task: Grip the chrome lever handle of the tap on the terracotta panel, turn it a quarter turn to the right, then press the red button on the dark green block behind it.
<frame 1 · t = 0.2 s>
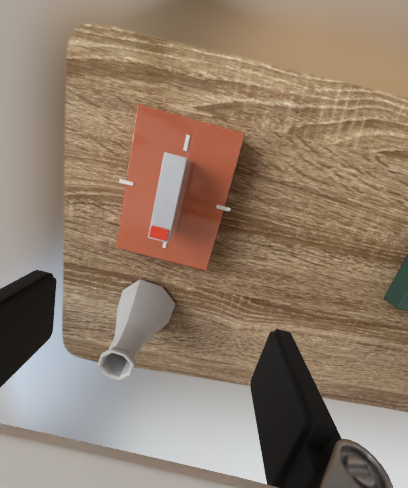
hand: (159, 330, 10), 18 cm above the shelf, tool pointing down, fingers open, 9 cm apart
tap handle: (171, 197, 21), point 5 cm above the shelf, hinge at 0.0°
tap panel: (179, 192, 26), on the shelf
flask: (147, 304, 30), on the shelf
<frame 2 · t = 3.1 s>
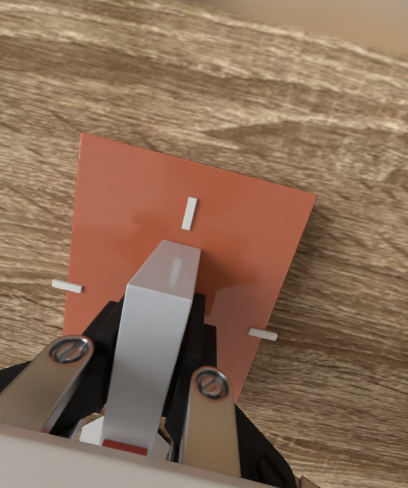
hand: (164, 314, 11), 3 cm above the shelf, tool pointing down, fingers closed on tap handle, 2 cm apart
tap handle: (154, 343, 9), point 5 cm above the shelf, hinge at 0.0°, touching gripper
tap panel: (176, 282, 14), on the shelf
flask: (125, 441, 19), on the shelf
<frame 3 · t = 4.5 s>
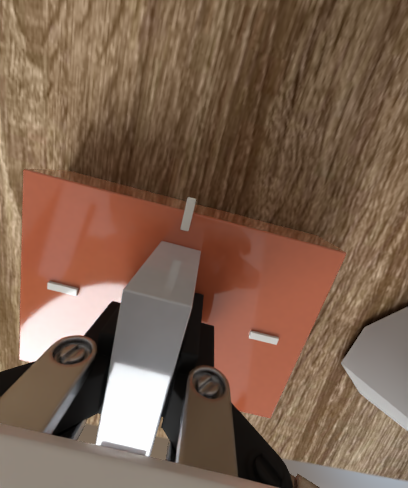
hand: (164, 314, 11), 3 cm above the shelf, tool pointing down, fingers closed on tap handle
tap handle: (152, 348, 9), point 5 cm above the shelf, hinge at -90.3°, touching gripper
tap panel: (175, 284, 14), on the shelf
flask: (398, 352, 15), on the shelf
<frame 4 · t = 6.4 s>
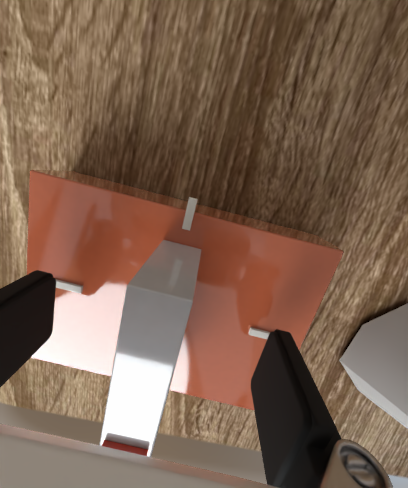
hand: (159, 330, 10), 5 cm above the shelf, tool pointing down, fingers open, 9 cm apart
tap handle: (155, 344, 9), point 5 cm above the shelf, hinge at -90.0°
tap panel: (176, 282, 14), on the shelf
flask: (396, 350, 15), on the shelf
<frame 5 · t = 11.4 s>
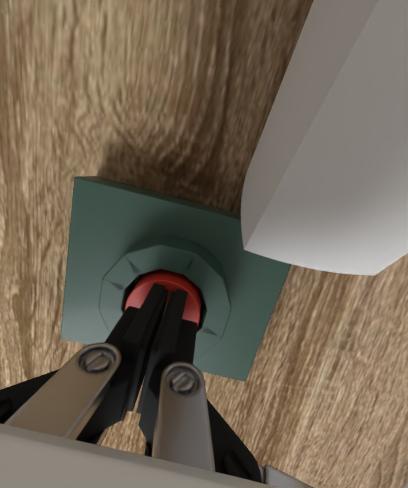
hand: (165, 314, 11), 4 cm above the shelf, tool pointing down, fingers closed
button block: (176, 275, 15), on the shelf
button: (165, 304, 12), point 4 cm above the shelf, slide at -0.8 cm, touching gripper
faucet: (339, 28, 11), on the shelf
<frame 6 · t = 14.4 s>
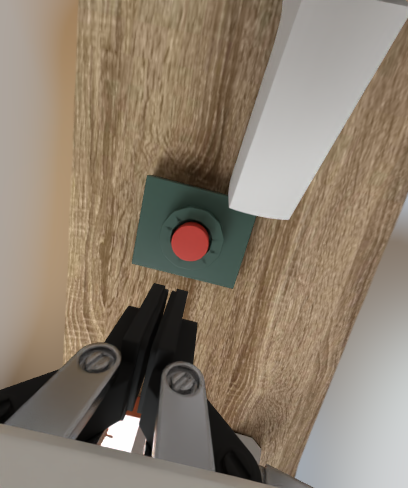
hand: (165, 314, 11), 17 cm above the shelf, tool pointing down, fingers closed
button block: (194, 230, 27), on the shelf
tap handle: (135, 464, 31), point 5 cm above the shelf, hinge at -90.0°
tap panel: (146, 422, 37), on the shelf
flask: (236, 446, 38), on the shelf
button: (190, 241, 23), point 4 cm above the shelf, slide at 0.1 cm
faucet: (277, 102, 23), on the shelf
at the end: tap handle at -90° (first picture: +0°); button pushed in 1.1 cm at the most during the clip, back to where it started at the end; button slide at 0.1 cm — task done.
